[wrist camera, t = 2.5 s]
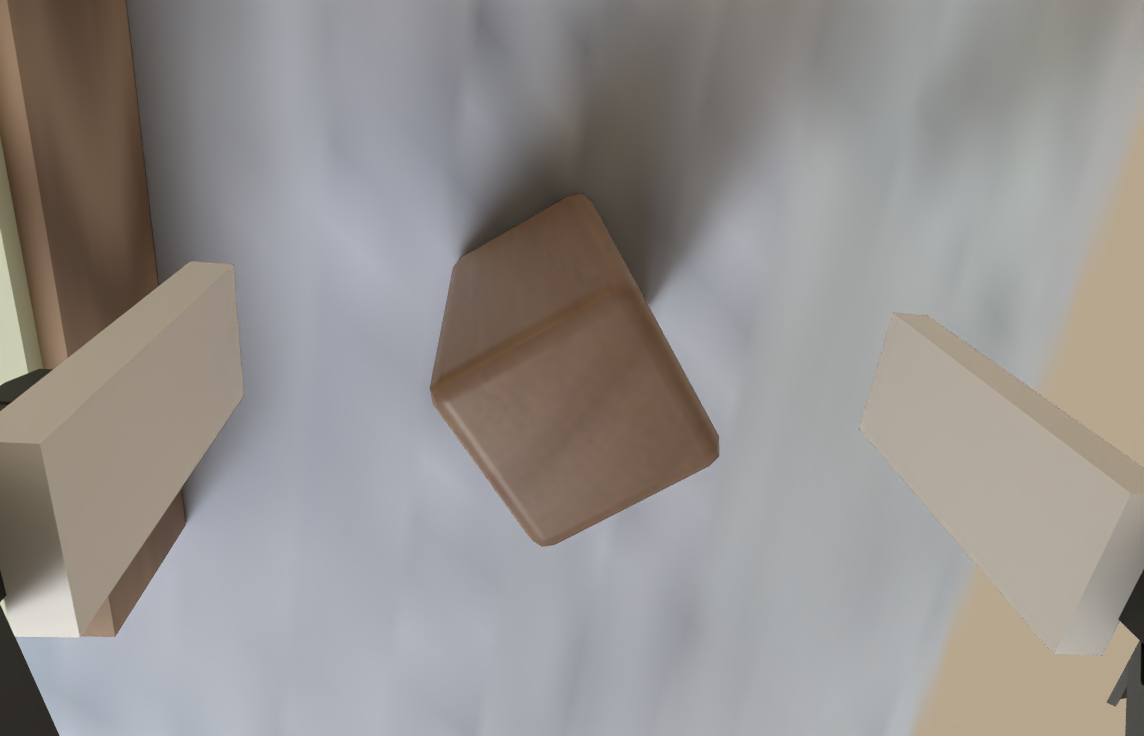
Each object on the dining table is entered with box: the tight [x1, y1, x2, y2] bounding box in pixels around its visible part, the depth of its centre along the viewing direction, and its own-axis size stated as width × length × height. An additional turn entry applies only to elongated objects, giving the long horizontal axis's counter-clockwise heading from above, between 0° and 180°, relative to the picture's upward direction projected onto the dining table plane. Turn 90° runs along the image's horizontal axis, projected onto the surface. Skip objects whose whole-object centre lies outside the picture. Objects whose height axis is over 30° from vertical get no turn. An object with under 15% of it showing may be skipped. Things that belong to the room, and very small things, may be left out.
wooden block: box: [430, 193, 719, 547], centre depth 17 cm, size 4×4×8 cm
